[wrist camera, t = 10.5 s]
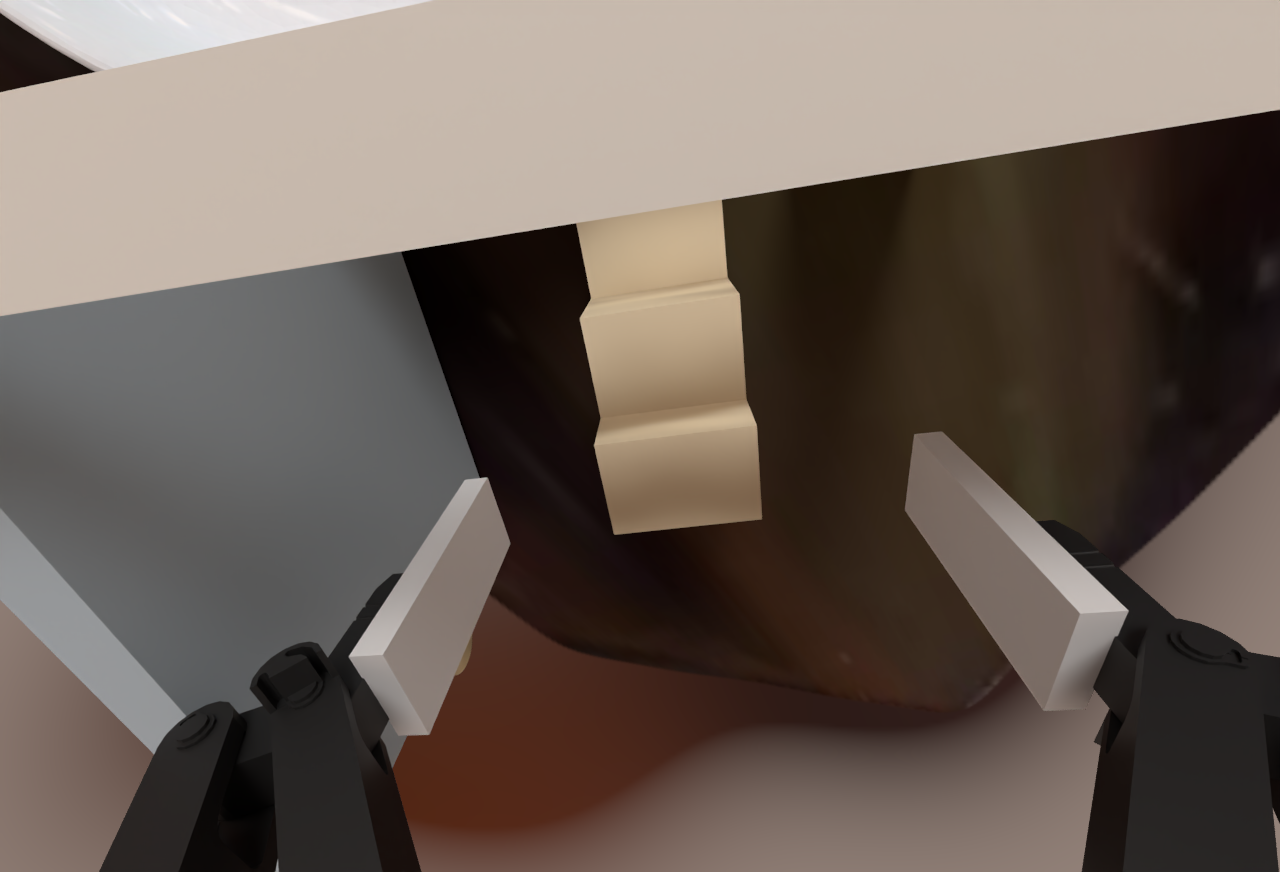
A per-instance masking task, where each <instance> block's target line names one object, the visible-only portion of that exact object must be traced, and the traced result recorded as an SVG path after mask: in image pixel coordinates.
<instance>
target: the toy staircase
mask: <svg viewBox="0 0 1280 872" xmlns="http://www.w3.org/2000/svg"><path fill="white" fill-rule="evenodd" d="M576 225H577V230H578V235H579V240H580V245H581V250H582V255H583V260H584V265H585V270H586V275H587V280H588V285H589V290H590V295H591V300H590V301H589V303H588V305H587V307H586V308H585V310H584V312H583V314H582V315H581V317H580V323H581V327H582V332H583V337H584V342H585V346H586V351H587V356H588V360H589V365H590V370H591V374H592V379H593V384H594V389H595V393H596V398H597V403H598V407H599V412H600V417H601V419H600V424H599V428H598V432H597V436H596V440H595V444H594V447H595V452H596V456H597V461H598V465H599V470H600V474H601V478H602V483H603V487H604V492H605V496H606V501H607V505H608V509H609V514H610V518H611V523H612V527H613V532H614V535H617V534H626V533H636V532H645V531H655V530H664V529H674V528H683V527H693V526H703V525H712V524H722V523H731V522H741V521H750V520H760V519H762V510H761V491H760V473H759V455H758V437H757V425H756V422H755V420H754V417H753V415H752V412H751V410H750V407H749V405H748V402H747V400H746V386H745V371H744V355H743V340H742V324H741V308H740V294H739V293H738V292H737V290H736V289H735V287H734V286H733V285H732V283H731V282H730V280H729V279H728V278H727V265H726V252H725V238H724V225H723V211H722V200H716V201H710V202H704V203H698V204H692V205H685V206H679V207H673V208H667V209H661V210H655V211H648V212H642V213H636V214H630V215H624V216H617V217H611V218H605V219H599V220H593V221H586V222H580V223H576Z"/></svg>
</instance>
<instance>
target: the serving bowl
mask: <svg viewBox="0 0 1280 872" xmlns="http://www.w3.org/2000/svg"><path fill="white" fill-rule="evenodd" d="M428 1H433V0H0V13H1V14H3V15H4V16H5V17H7V18H8V19H10V20H11V21H12V22H14V23H15V24H17V25H18V26H20V27H22V28H23V29H25V30H26V31H28V32H29V33H31V34H32V35H34V36H35V37H37V38H39V39H40V40H42V41H43V42H45V43H46V44H48V45H49V46H51V47H53V48H54V49H56V50H58V51H59V52H61V53H63V54H65V55H66V56H68V57H70V58H72V59H73V60H75V61H77V62H78V63H80V64H82V65H84V66H85V67H87V68H89V69H91V70H93V71H95V72H99V71H104V70H108V69H113V68H118V67H122V66H127V65H132V64H137V63H141V62H146V61H151V60H155V59H160V58H165V57H170V56H174V55H179V54H184V53H188V52H193V51H198V50H202V49H207V48H212V47H217V46H221V45H226V44H231V43H235V42H240V41H245V40H250V39H254V38H259V37H264V36H268V35H273V34H278V33H282V32H287V31H292V30H297V29H301V28H306V27H311V26H315V25H320V24H325V23H330V22H334V21H339V20H344V19H348V18H353V17H358V16H363V15H367V14H372V13H377V12H381V11H386V10H391V9H395V8H400V7H405V6H410V5H414V4H419V3H424V2H428Z"/></svg>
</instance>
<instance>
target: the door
mask: <svg viewBox="0 0 1280 872" xmlns="http://www.w3.org/2000/svg"><path fill="white" fill-rule="evenodd" d="M477 478H479V475H478V472H477V469H476V466H475V463H474V460H473V457H472V455H471V452H470V449H469V446H468V443H467V440H466V437H465V434H464V432H463V429H462V426H461V423H460V420H459V417H458V414H457V411H456V409H455V406H454V403H453V400H452V397H451V394H450V391H449V388H448V386H447V383H446V380H445V377H444V374H443V371H442V368H441V365H440V363H439V360H438V357H437V354H436V351H435V348H434V345H433V342H432V340H431V337H430V334H429V331H428V328H427V325H426V322H425V319H424V317H423V314H422V311H421V308H420V305H419V302H418V299H417V296H416V294H415V291H414V288H413V285H412V282H411V279H410V276H409V273H408V271H407V268H406V265H405V262H404V259H403V256H402V253H401V252H394V253H388V254H382V255H376V256H370V257H364V258H357V259H351V260H345V261H339V262H333V263H326V264H320V265H314V266H308V267H302V268H295V269H289V270H283V271H277V272H271V273H264V274H258V275H252V276H246V277H240V278H234V279H227V280H221V281H215V282H209V283H203V284H196V285H190V286H184V287H178V288H172V289H165V290H159V291H153V292H147V293H141V294H134V295H128V296H122V297H116V298H110V299H104V300H97V301H91V302H85V303H79V304H73V305H66V306H60V307H54V308H48V309H42V310H35V311H29V312H23V313H17V314H11V315H4V316H0V600H1V601H2V602H3V603H4V604H5V605H6V606H7V607H8V608H9V609H10V610H11V611H12V612H13V613H14V614H15V615H16V616H17V617H18V618H19V619H20V620H21V621H22V622H23V623H24V624H25V625H26V626H27V627H28V628H29V629H30V630H31V631H32V632H33V633H34V634H35V635H36V636H37V637H38V638H39V639H40V640H41V641H42V642H43V643H44V644H45V645H46V646H47V647H48V648H49V649H50V650H51V651H52V652H53V653H54V654H55V655H56V656H57V657H58V658H59V659H60V660H61V661H62V662H63V663H64V664H65V665H66V666H67V667H68V668H69V669H70V670H71V671H72V672H73V673H74V674H75V675H76V676H77V677H78V678H79V679H80V680H81V681H82V682H83V683H84V684H85V685H86V686H87V687H88V688H89V689H90V690H91V691H92V692H93V693H94V694H95V695H96V696H97V697H98V698H99V699H100V700H101V701H102V702H103V703H104V704H105V705H106V706H107V707H108V708H109V709H110V710H111V711H112V712H113V713H114V714H115V715H116V716H117V717H118V718H119V719H120V720H121V721H122V722H123V723H124V724H125V725H126V726H127V727H128V728H129V729H130V730H131V731H132V732H133V733H134V734H135V735H136V736H137V737H138V739H140V740H141V741H142V743H144V745H145V746H147V747H148V749H149V750H150V751H152V753H153V754H155V752H156V749H157V747H158V746H159V744H160V743H161V741H162V740H163V738H164V737H165V735H166V734H167V733H168V732H169V731H170V730H171V729H172V728H173V727H174V726H175V725H176V724H177V723H178V722H179V721H181V720H182V719H183V718H185V717H186V716H188V715H189V714H190V713H192V712H193V711H195V710H197V709H199V708H201V707H203V706H205V705H207V704H211V703H215V702H218V701H223V702H229V703H230V704H231V705H232V706H233V707H234V708H235V710H236V711H237V712H238V713H239V714H240V713H243V712H246V711H249V710H252V709H255V708H258V707H261V706H263V705H262V704H261V703H260V701H259V700H258V699H257V698H256V696H255V695H254V694H253V693H252V692H251V690H250V685H251V681H252V678H253V677H254V676H255V674H256V673H257V671H258V670H259V669H260V667H262V666H263V665H264V664H265V663H266V662H267V661H268V660H269V659H270V658H271V657H273V656H274V655H276V654H278V653H279V652H281V651H282V650H284V649H286V648H288V647H290V646H293V645H295V644H298V643H303V642H309V641H310V642H314V643H318V644H319V645H320V647H321V648H322V650H323V651H324V653H325V654H326V656H327V657H329V655H330V654H331V652H332V651H333V650H334V648H335V647H336V645H337V644H338V642H339V641H340V640H341V638H342V637H343V635H344V634H345V632H346V631H347V630H348V628H349V627H350V625H351V624H352V622H353V621H356V617H357V615H358V614H359V612H360V611H361V610H362V608H363V607H365V604H366V602H367V601H368V600H369V598H370V597H371V595H372V594H373V592H374V591H375V590H376V588H377V587H378V586H380V585H381V584H382V583H383V582H384V581H385V580H387V579H388V578H389V577H390V576H391V575H392V574H397V573H404V572H405V570H406V569H407V567H408V566H409V564H410V563H411V561H412V560H413V558H414V557H415V555H416V553H417V552H418V550H419V549H420V547H421V546H422V544H423V543H424V541H425V540H426V538H427V537H428V535H429V534H430V532H431V531H432V529H433V528H434V526H435V525H436V523H437V522H438V520H439V519H440V517H441V515H442V514H443V512H444V511H445V509H446V508H447V506H448V505H449V503H450V502H451V500H452V499H453V497H454V496H455V494H456V493H457V491H458V490H459V488H460V487H461V485H462V484H463V482H464V481H465V480H467V479H477ZM471 648H472V635H471V637H470V640H469V642H468V644H467V647H466V649H465V652H464V654H463V656H462V659H461V661H460V663H459V666H458V668H457V670H456V673H455V675H458V674H460V673H461V672H462V671H463V670H464V669H465V667H466V665H467V663H468V660H469V657H470V653H471ZM406 737H407V735H404V736H398V734H397V733H396V731H395V729H394V728H393V726H392V725H391V723H390V722H389V721H388V723H387V725H386V727H385V729H384V731H383V733H382V735H381V739H382V740H383V742H384V743H385V745H386V748H387V752H388V755H389V759H390V762H391V766H392V768H393V766H394V763H395V761H396V759H397V757H398V755H399V752H400V750H401V748H402V746H403V743H404V741H405V739H406ZM275 872H279V868H278V861H277V866H276V871H275Z"/></svg>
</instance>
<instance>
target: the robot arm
mask: <svg viewBox="0 0 1280 872" xmlns="http://www.w3.org/2000/svg"><path fill="white" fill-rule="evenodd" d="M905 511H906V512H907V514H908V515H909V517H910V518H911V520H912V521H913V523H914V524H915V525H916V527H917V528H918V530H919V531H920V533H921V534H922V536H923V537H924V538H925V540H926V541H927V543H928V544H929V546H930V547H931V549H932V550H933V551H934V553H935V554H936V556H937V557H938V559H939V560H940V562H941V563H942V564H943V566H944V567H945V569H946V570H947V572H948V573H949V575H950V576H951V577H952V579H953V580H954V582H955V583H956V585H957V586H958V588H959V589H960V590H961V592H962V593H963V595H964V596H965V598H966V599H967V601H968V602H969V604H970V605H971V606H972V608H973V609H974V611H975V612H976V614H977V615H978V617H979V618H980V619H981V621H982V622H983V624H984V625H985V627H986V628H987V630H988V631H989V632H990V634H991V635H992V637H993V638H994V640H995V641H996V643H997V644H998V645H999V647H1000V648H1001V650H1002V651H1003V653H1004V654H1005V656H1006V657H1007V658H1008V660H1009V661H1010V663H1011V664H1012V666H1013V667H1014V669H1015V670H1016V671H1017V673H1018V674H1019V676H1020V677H1021V679H1022V680H1023V682H1024V683H1025V684H1026V686H1027V687H1028V689H1029V690H1030V692H1031V693H1032V694H1033V696H1034V697H1035V699H1036V700H1037V702H1038V703H1039V704H1040V706H1041V707H1042V709H1043V710H1044V711H1054V710H1079V709H1086V707H1087V705H1088V703H1089V700H1090V698H1091V696H1092V694H1093V691H1094V690H1095V691H1096V692H1097V693H1098V695H1099V696H1100V697H1101V698H1102V699H1103V701H1104V702H1105V703H1106V704H1107V705H1108V707H1109V708H1110V709H1109V711H1108V713H1107V715H1106V717H1105V719H1104V722H1103V724H1102V726H1101V728H1100V730H1099V732H1098V734H1097V736H1096V739H1095V741H1094V742H1095V743H1097V744H1099V745H1101V748H1100V754H1099V762H1098V768H1097V774H1096V781H1095V788H1094V794H1093V801H1092V808H1091V814H1090V821H1089V827H1088V834H1087V841H1086V848H1085V855H1084V860H1083V868H1082V872H1279V869H1278V860H1277V848H1276V838H1275V828H1274V819H1273V809H1274V812H1275V814H1276V816H1277V818H1278V821H1279V823H1280V657H1273V656H1268V655H1261V654H1256V653H1251V652H1248V651H1247V650H1246V649H1245V648H1243V647H1242V646H1241V645H1240V644H1239V643H1238V642H1236V641H1234V640H1233V639H1231V638H1229V637H1228V636H1226V635H1225V634H1223V633H1221V632H1219V631H1217V630H1214V629H1212V628H1209V627H1207V626H1205V625H1202V624H1199V623H1195V622H1191V621H1187V620H1183V619H1176V618H1175V617H1174V616H1172V615H1171V614H1170V613H1169V612H1168V611H1167V610H1166V609H1164V608H1163V607H1162V606H1161V605H1160V604H1159V603H1158V602H1156V601H1155V600H1154V599H1153V598H1152V597H1151V596H1150V595H1149V594H1148V593H1146V592H1145V591H1144V590H1143V589H1142V588H1141V587H1140V586H1139V585H1137V584H1136V583H1135V582H1134V581H1133V580H1132V579H1131V578H1129V577H1128V576H1127V575H1126V574H1125V573H1124V572H1123V571H1122V570H1120V569H1119V568H1118V567H1114V563H1113V562H1111V561H1110V560H1109V559H1108V558H1107V557H1106V556H1105V555H1104V554H1102V553H1099V552H1098V549H1097V548H1096V547H1095V546H1093V545H1092V544H1091V543H1090V542H1089V541H1088V540H1087V539H1085V538H1084V537H1083V536H1082V535H1081V534H1080V533H1078V532H1076V531H1074V530H1072V529H1070V528H1068V527H1067V526H1065V525H1063V524H1061V523H1059V522H1057V521H1055V520H1049V521H1037V522H1036V521H1035V520H1034V519H1033V518H1032V517H1031V516H1030V515H1028V514H1027V513H1026V512H1025V511H1024V510H1023V509H1022V508H1021V507H1020V506H1019V505H1018V504H1017V503H1016V502H1015V501H1014V500H1013V499H1012V498H1011V497H1010V496H1009V495H1008V494H1007V493H1006V492H1005V491H1003V490H1002V489H1001V488H1000V487H999V486H998V485H997V484H996V483H995V482H994V481H993V480H992V479H991V478H990V477H989V476H988V475H987V474H986V473H985V472H984V471H983V470H982V469H981V468H980V467H978V466H977V465H976V464H975V463H974V462H973V461H972V460H971V459H970V458H969V457H968V456H967V455H966V454H965V453H964V452H963V451H962V450H961V449H960V448H959V447H958V446H957V445H956V444H955V443H953V442H952V441H951V440H950V439H949V438H948V437H947V436H946V435H945V434H944V433H943V432H932V433H922V434H914V440H913V448H912V456H911V464H910V472H909V480H908V488H907V496H906V504H905ZM509 546H510V541H509V538H508V535H507V532H506V529H505V526H504V523H503V521H502V518H501V515H500V512H499V509H498V506H497V503H496V500H495V498H494V495H493V492H492V489H491V486H490V483H489V480H488V478H477V479H467V480H465V481H464V482H463V484H462V485H461V487H460V488H459V490H458V491H457V493H456V494H455V496H454V497H453V499H452V500H451V502H450V503H449V505H448V506H447V508H446V509H445V511H444V512H443V514H442V515H441V517H440V519H439V520H438V522H437V523H436V525H435V526H434V528H433V529H432V531H431V532H430V534H429V535H428V537H427V538H426V540H425V541H424V543H423V544H422V546H421V547H420V549H419V550H418V552H417V553H416V555H415V557H414V558H413V560H412V561H411V563H410V564H409V566H408V567H407V569H406V570H405V572H404V573H397V574H392V575H391V576H390V577H389V578H388V579H387V580H385V581H384V582H383V583H382V584H381V585H380V586H378V587H377V588H376V590H375V591H374V592H373V594H372V595H371V597H370V598H369V600H368V601H367V602H366V604H365V607H363V608H362V610H361V611H360V612H359V614H358V615H357V617H356V621H353V622H352V624H351V625H350V627H349V628H348V630H347V631H346V632H345V634H344V635H343V637H342V638H341V640H340V641H339V642H338V644H337V645H336V647H335V648H334V650H333V651H332V652H331V654H330V655H329V657H327V656H326V654H325V653H324V651H323V650H322V648H321V647H320V645H319V644H318V643H314V642H310V641H309V642H303V643H298V644H295V645H293V646H290V647H288V648H286V649H284V650H282V651H281V652H279V653H278V654H276V655H274V656H273V657H271V658H270V659H269V660H268V661H267V662H266V663H265V664H264V665H263V666H262V667H260V669H259V670H258V671H257V673H256V674H255V676H254V677H253V678H252V681H251V685H250V690H251V692H252V693H253V694H254V695H255V696H256V698H257V699H258V700H259V701H260V703H261V704H262V705H263V706H261V707H258V708H255V709H252V710H249V711H246V712H243V713H240V714H239V713H238V712H237V711H236V710H235V708H234V707H233V706H232V705H231V704H230V703H229V702H223V701H218V702H215V703H211V704H207V705H205V706H203V707H201V708H199V709H197V710H195V711H193V712H192V713H190V714H189V715H188V716H186V717H185V718H183V719H182V720H181V721H179V722H178V723H177V724H176V725H175V726H174V727H173V728H172V729H171V730H170V731H169V732H168V733H167V734H166V735H165V737H164V738H163V740H162V741H161V743H160V744H159V746H158V747H157V749H156V752H155V754H154V756H153V758H152V760H151V762H150V765H149V767H148V769H147V771H146V773H145V775H144V777H143V779H142V782H141V784H140V786H139V788H138V790H137V792H136V794H135V796H134V798H133V801H132V803H131V805H130V807H129V809H128V811H127V813H126V816H125V818H124V820H123V822H122V824H121V826H120V828H119V831H118V833H117V835H116V837H115V839H114V841H113V843H112V846H111V848H110V850H109V852H108V854H107V856H106V858H105V860H104V862H103V865H102V867H101V869H100V871H99V872H275V871H276V866H277V861H278V868H279V872H421V869H420V865H419V862H418V858H417V855H416V851H415V847H414V844H413V840H412V837H411V834H410V830H409V826H408V823H407V819H406V816H405V812H404V808H403V805H402V801H401V798H400V794H399V791H398V787H397V784H396V780H395V777H394V773H393V770H392V766H391V762H390V759H389V755H388V752H387V748H386V745H385V743H384V742H383V740H382V739H381V735H382V733H383V731H384V729H385V727H386V725H387V723H388V721H389V722H390V723H391V725H392V726H393V728H394V729H395V731H396V733H397V734H398V736H404V735H429V734H430V731H431V729H432V727H433V724H434V722H435V720H436V718H437V715H438V713H439V710H440V708H441V706H442V703H443V701H444V699H445V696H446V694H447V692H448V689H449V687H450V685H451V682H452V680H453V677H454V675H455V673H456V670H457V668H458V666H459V663H460V661H461V659H462V656H463V654H464V652H465V649H466V647H467V644H468V642H469V640H470V637H471V635H472V633H473V630H474V628H475V626H476V623H477V621H478V619H479V616H480V614H481V611H482V609H483V606H484V604H485V602H486V600H487V597H488V595H489V593H490V590H491V588H492V586H493V583H494V581H495V579H496V576H497V574H498V571H499V569H500V567H501V564H502V562H503V560H504V557H505V555H506V553H507V550H508V548H509Z"/></svg>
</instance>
